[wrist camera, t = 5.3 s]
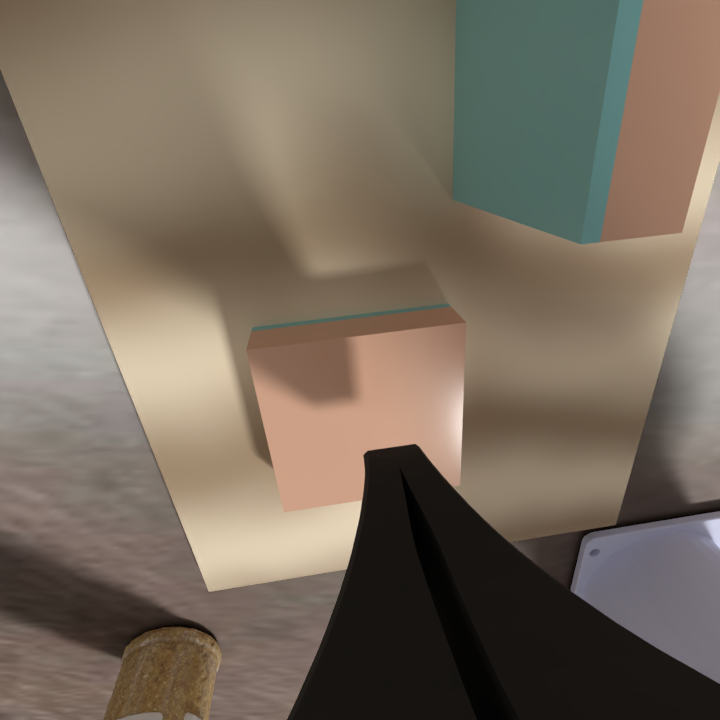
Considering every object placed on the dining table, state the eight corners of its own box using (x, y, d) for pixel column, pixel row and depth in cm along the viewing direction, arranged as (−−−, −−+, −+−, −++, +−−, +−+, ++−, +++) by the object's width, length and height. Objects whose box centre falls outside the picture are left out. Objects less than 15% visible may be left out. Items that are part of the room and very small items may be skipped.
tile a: (459, 485, 14) (284, 512, 14) (446, 454, 16) (285, 478, 15) (466, 322, 11) (245, 350, 11) (448, 303, 13) (252, 327, 12)
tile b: (508, 193, 12) (682, 233, 6) (452, 200, 11) (581, 244, 6) (531, -109, 9) (875, -497, 4) (458, -105, 9) (697, -499, 3)
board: (604, 511, 19) (615, 524, 19) (212, 574, 18) (208, 591, 17) (877, -536, 7) (937, -609, 7) (-220, -557, 6) (-286, -647, 5)
